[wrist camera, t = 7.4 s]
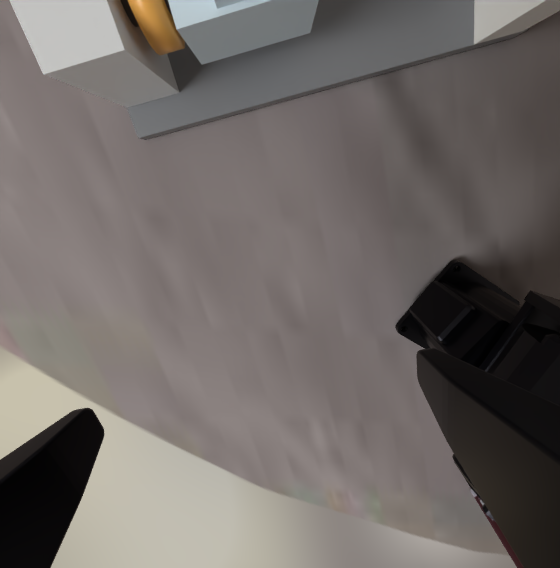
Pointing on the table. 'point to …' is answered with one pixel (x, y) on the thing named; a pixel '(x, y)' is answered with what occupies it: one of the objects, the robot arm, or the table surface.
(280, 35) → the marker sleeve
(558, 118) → the table surface
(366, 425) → the table surface
